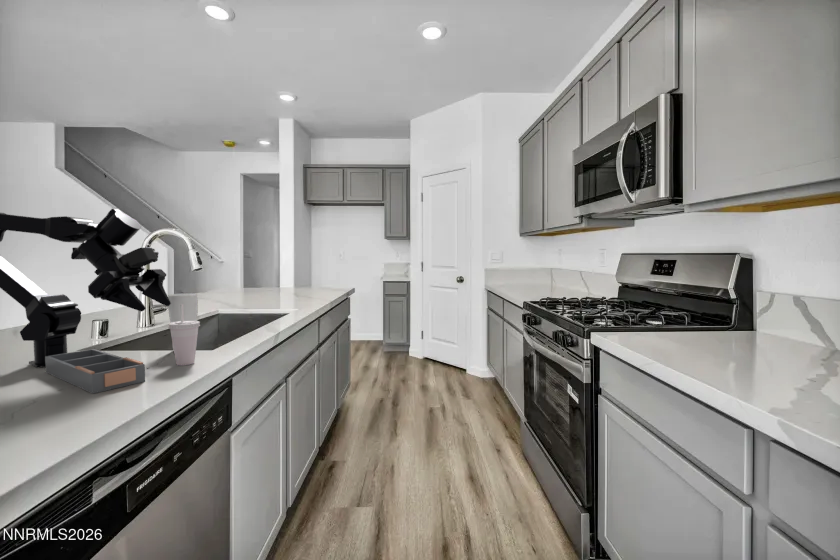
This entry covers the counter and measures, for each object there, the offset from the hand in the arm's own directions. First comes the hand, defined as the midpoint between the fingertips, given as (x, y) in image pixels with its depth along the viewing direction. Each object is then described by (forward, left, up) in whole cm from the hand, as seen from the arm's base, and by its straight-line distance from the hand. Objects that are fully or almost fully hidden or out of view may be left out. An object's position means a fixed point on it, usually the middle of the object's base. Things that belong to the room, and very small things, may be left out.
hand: (157, 307), depth 93 cm
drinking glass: (-9, +10, -13) cm, 19 cm away
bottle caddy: (0, -13, -13) cm, 18 cm away
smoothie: (+5, +3, -13) cm, 15 cm away
